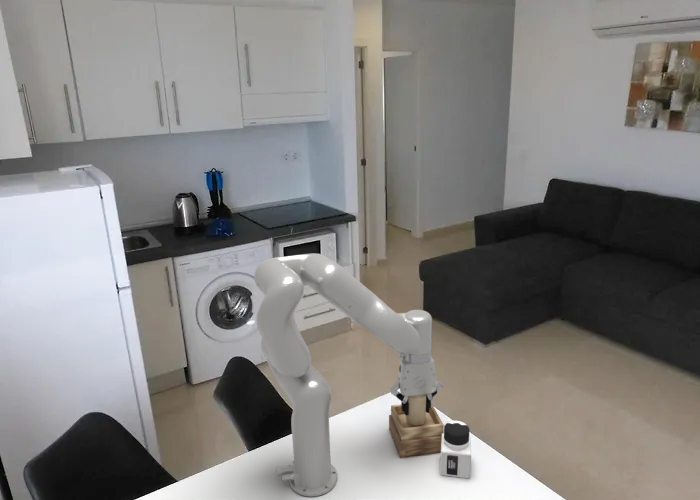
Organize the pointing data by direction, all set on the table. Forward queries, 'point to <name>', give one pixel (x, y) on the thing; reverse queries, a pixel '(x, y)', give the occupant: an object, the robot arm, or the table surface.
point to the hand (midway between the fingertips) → (416, 410)
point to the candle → (416, 410)
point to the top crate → (411, 432)
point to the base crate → (414, 444)
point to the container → (456, 450)
